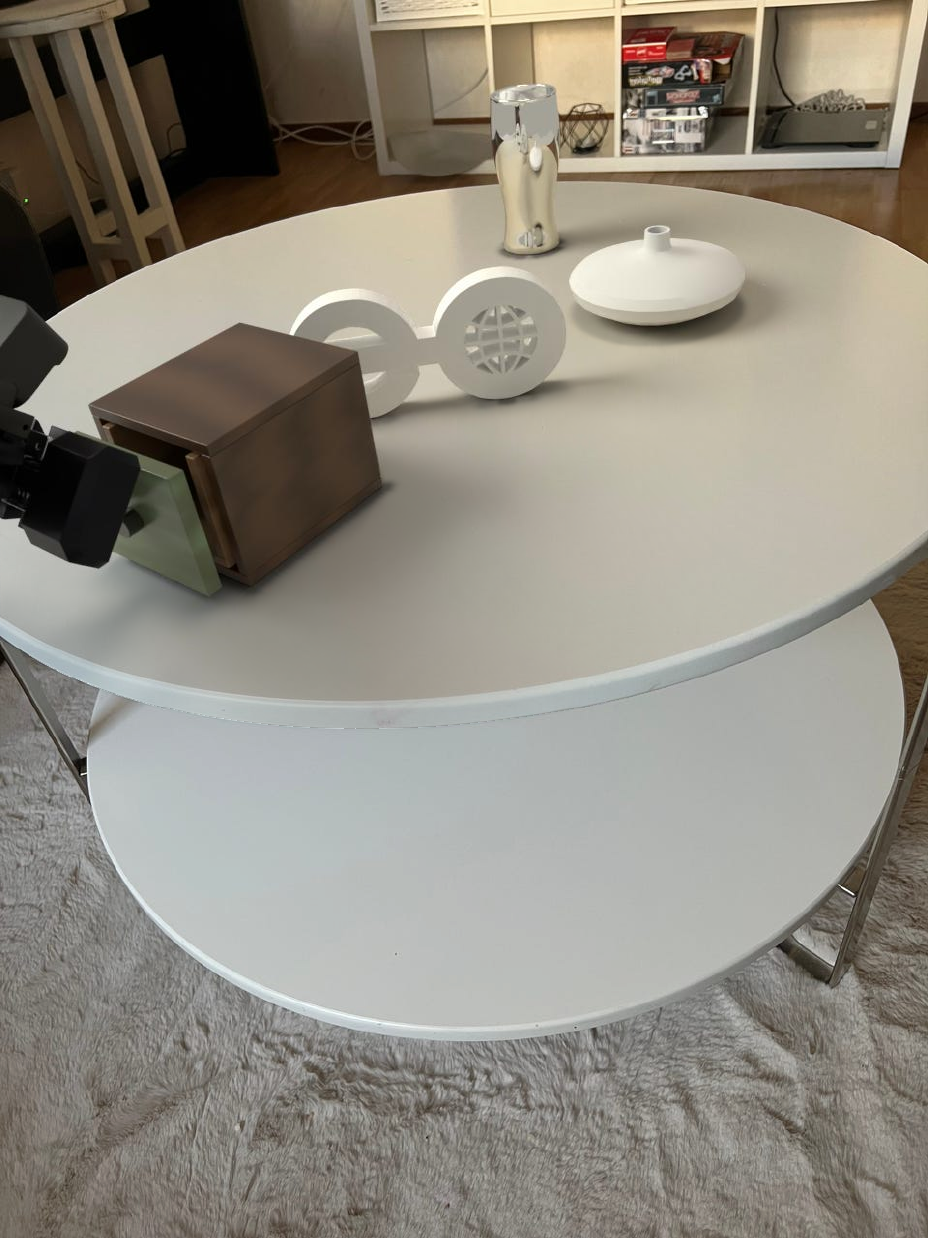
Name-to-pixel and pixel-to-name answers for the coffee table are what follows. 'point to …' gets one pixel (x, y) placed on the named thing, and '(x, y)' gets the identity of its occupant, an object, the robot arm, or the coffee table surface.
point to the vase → (657, 279)
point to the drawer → (171, 512)
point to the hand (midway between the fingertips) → (124, 501)
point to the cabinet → (261, 435)
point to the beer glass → (527, 164)
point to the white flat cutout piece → (448, 336)
